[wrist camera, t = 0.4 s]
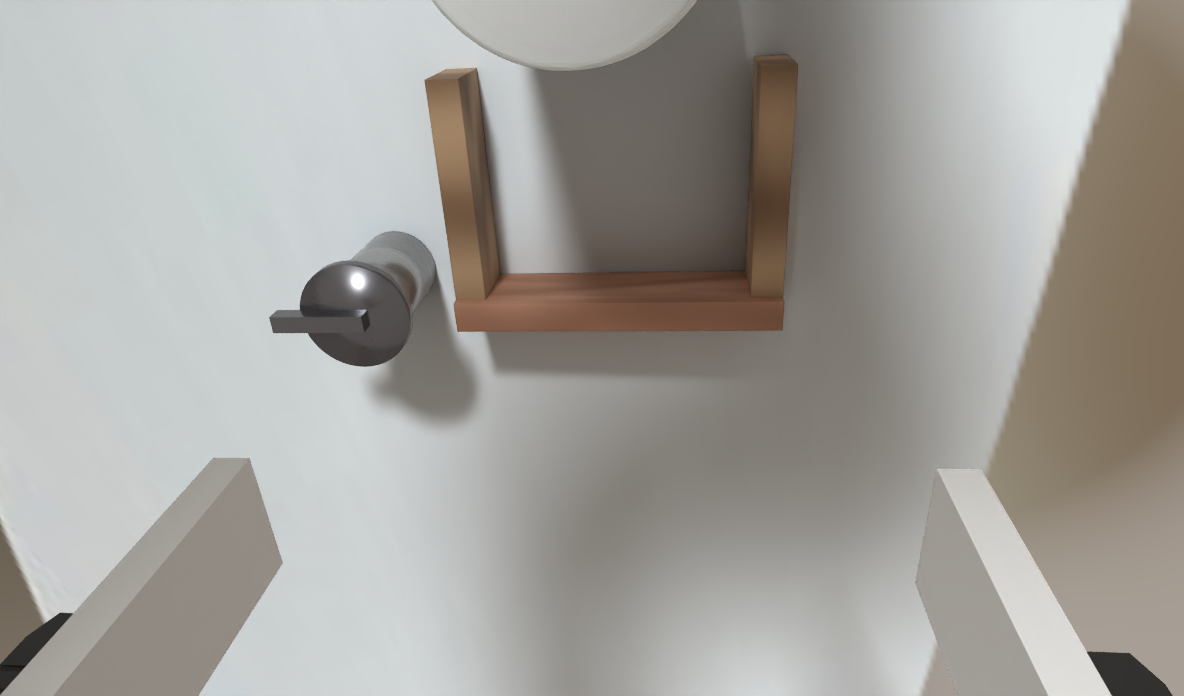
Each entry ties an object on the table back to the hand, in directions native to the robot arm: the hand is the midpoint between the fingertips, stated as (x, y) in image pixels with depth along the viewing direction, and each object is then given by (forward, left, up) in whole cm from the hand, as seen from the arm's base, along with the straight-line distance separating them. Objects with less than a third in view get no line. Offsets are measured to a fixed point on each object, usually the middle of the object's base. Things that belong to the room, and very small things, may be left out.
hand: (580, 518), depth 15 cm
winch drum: (+5, -13, -26) cm, 30 cm away
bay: (+1, -1, -26) cm, 26 cm away
